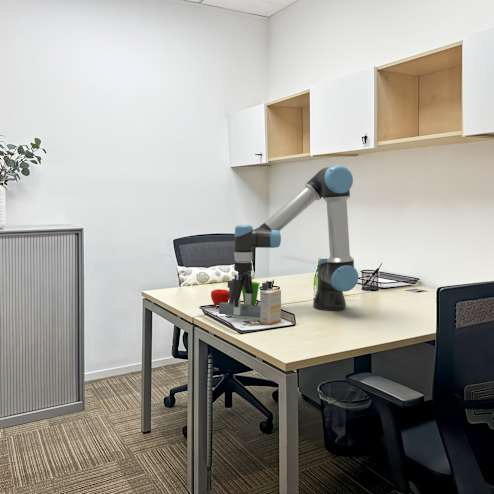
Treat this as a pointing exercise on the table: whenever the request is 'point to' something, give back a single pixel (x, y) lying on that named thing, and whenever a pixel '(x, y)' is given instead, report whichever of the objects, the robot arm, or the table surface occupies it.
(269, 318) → the supplement box
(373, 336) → the table surface
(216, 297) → the apple
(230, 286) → the standards
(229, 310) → the rail
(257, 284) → the cup
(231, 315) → the pad
